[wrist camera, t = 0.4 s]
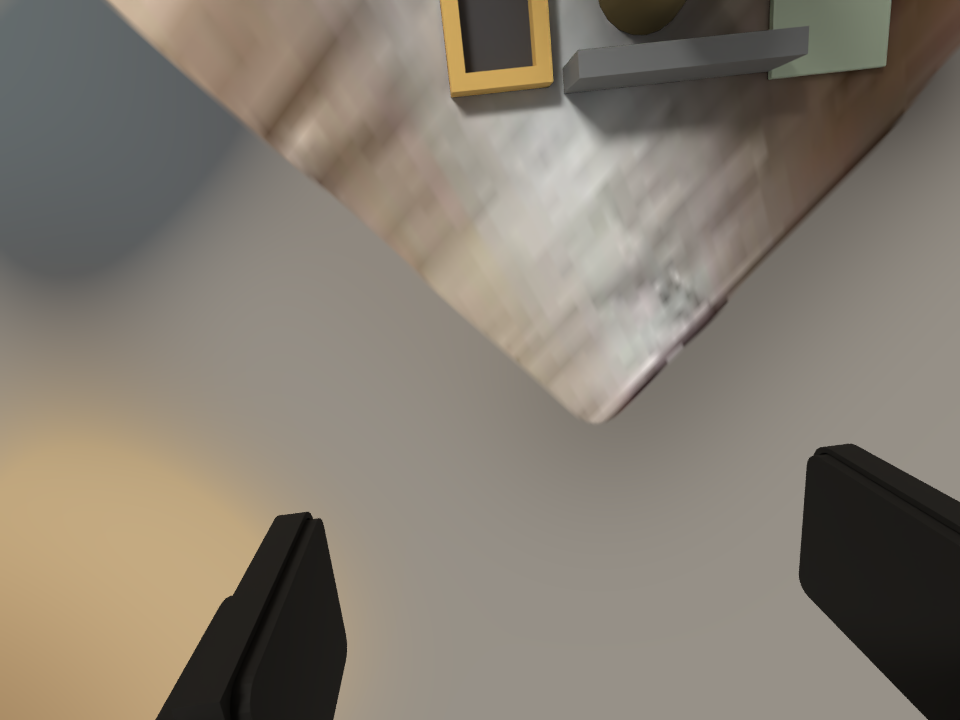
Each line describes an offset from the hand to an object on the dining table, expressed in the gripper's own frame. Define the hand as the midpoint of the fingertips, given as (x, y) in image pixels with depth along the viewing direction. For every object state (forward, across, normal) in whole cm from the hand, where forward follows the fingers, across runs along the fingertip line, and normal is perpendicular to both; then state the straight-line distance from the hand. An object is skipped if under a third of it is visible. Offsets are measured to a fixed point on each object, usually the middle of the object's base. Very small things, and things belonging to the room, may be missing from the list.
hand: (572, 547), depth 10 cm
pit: (+29, -3, -19) cm, 35 cm away
